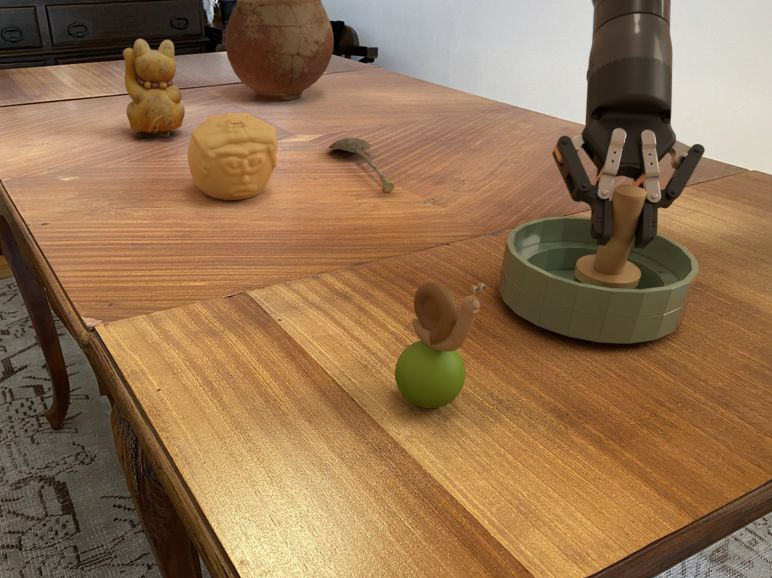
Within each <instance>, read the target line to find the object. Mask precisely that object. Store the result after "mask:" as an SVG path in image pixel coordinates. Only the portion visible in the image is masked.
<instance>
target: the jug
mask: <svg viewBox="0 0 772 578" xmlns="http://www.w3.org/2000/svg"><path fill="white" fill-rule="evenodd" d="M235 2H236V3H235V4H234V7H233V9H232V11H231V13H230V16H229V19H228V21H227V25H226V31H225V41H224V42H225V51H226V56H227V60H228V61H229V64H230V67H231V68H232V71H233V73H234V74H235V76H236V77H237V78H238V79H239V80H240V82H241V83H242V84H243V85H245V86H246V87H248V88H249V89H250V90H251V91H254V92H255V96H256V97H257V98H258V99H260V100H263V101H272V102H273V101H275V102H277V101H278V102H285V101H286V102H287V101H293V100H298V99H300V98H301V97H302V96H303V92H304V91H306V90H307V89H309V88H310V87H312V86H313V85H314V84H316V83H317V82H318V80H319V79H321V77H322V76H323V75H324V73H325V72H326V70H327V68H328V66H329V65H330V61H331V59H332V58H333V57H332V56H333V52H334V46H335V42H334V33H333V28H332V24H331V21H330V18H329V15H328V13H327V11H326V9H325V7H324V5H323V3H322V0H236V1H235Z"/></svg>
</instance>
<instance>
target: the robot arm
mask: <svg viewBox="0 0 772 578" xmlns="http://www.w3.org/2000/svg"><path fill="white" fill-rule="evenodd" d="M590 1H591V4H592V7H593V14H592V15H593V16H592V35H591V38H592V39H591V47H590V50H589V56H588V63H587V64H588V65H587V71H586V83H587V85H586V101H585V103H586V105H585V124H584V125H585V126H584V128H583V129H582V132H581V133H580V134H578V135H576V136H572V137H570V136H568V135H562V136H560V137H559V138H558V139H557V142H556V145H555V146H554V148H553V150H552V157H553V159H554V162H555V164H556V166H557V169H558V171H559V173H560V175H561V177H562V180H563V182H564V184H565V186H566V189H567V191H568V193H569V195H570V198H571V199H572V201H574V202H575V203H580V202H583V203H585V204H586V205H588V206H589V207H590V217H591V228H590V234H591V237H592V239H597V240H596V244H597V245H601V246H605V245H606V244H607V243H608V242H609V241H610V238H611V230H612V204H613V201H611V200H610V197H612V193H613V189H614V188H613V187H614V183H615V178H618V177H625V178H629V179H630V180H631V185H633V186H637V187H640V188H642V189H644V190H646V192H647V195H646V198H645V201H644V205H643V208H642V211H641V215H640V218H639V221H638V225H637V228H636V231H635V242H634V247H635V248H638V249H644V248H645V247H646V246H647V245H648V244H649V243H650V242H651V241H652V240H653V239H654V238H655V236H656V234H657V233H658V224H659V223H658V221H659V217H658V216H659V209H668V208H670V207H671V206H672V205H673V203H674V202H675V201H676V200H678V198H680V196H681V195H682V193H683V192H684V190H685V188H686V186H687V184H688V182H689V181H690V179H691V177H692V175H693V173H694V171H695V169H696V168H697V166H698V164H699V163H700V161H701V159H702V158H703V156H704V154H705V151H706V150H705V147H704V146H703V145H702V144H701V143H694V144H693V145H692V146H690V145H688V144H685V143H684V142H681V141H679V140H677V135H676V133H675V131H674V129H673V127H672V124H671V123H672V107H673V105H672V104H673V103H672V101H673V55H674V54H673V53H674V52H673V41H672V38H671V37H672V36H671V8H672V7H671V6H672V1H671V0H590ZM582 150H583V151H584V153H585V155H587V157H588V158H589V160H590V161H591V162H592V164H593V165H594V166H595V168H596V170H595V171H596V172H595V175H594V180H593V184H592V183H591V180H590V178H589V176H588V174H587V171H586V169H585V167H584V165H583V163H582V160H581V158H580V157H581V155H582V153H583V151H582ZM667 154H669V155H670V156H671V160H670V165H671V168H672V170H673V169H674V171H673V173H672V175H671V176H670V178H669V180H668V181H667V184H666V185H665V187H664V189H661V188H660V183H659V178H660V166H659V163H660V162H661V161H662V159H664V157H666V155H667Z"/></svg>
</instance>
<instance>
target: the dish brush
mask: <svg viewBox="0 0 772 578" xmlns="http://www.w3.org/2000/svg"><path fill="white" fill-rule="evenodd" d="M646 195H647V192H646V190H644V189H642V188H640V187H637V186H633V185H632V184H618V185H616V186H614V188H613V190H612V194H611V199H610V201H613V204H612V230H611V238H610V241H609V242H608V243H607V244H606V245H605V246H601V245H599V247H598V250H597V254H593V255H586V256H583V257H581V258H580V259H578V260H577V262H576V266H575V270H574V274H575V279H574V281H575V282H579V283H583V284H589V285H595V286H601V287H607V288H620V289H634V288H636V287H637V285H638V283H639V280H640V277H641V271H640V269H639V268H638V267H637V266H636V265H634V264H633V263H631V262H629V261H627V258H628V255H629V251H630V248H631V245H632V241H633V238H634V235H635V231H636V228H637V225H638V221H639V218H640V215H641V211H642V208H643V205H644V201H645V198H646Z"/></svg>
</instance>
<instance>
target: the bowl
mask: <svg viewBox="0 0 772 578" xmlns="http://www.w3.org/2000/svg"><path fill="white" fill-rule="evenodd" d="M590 228H591V216H567V215H565V216H563V215H562V216H551V217H540V218H537V219H536V218H535V219H533V220H530V221H525V222H522V223H520V224H519V225H517V226H516V227H514V228H513V229H511V230H510V231H509V233H508V235H507V238H506V241H505V246H504V251H503V258H502V262H501V263H502V264H501V268H500V275H499V280H498V286H497V289H498V292H499V295H500V297H501V300H502V302H503V303H504V304H505V305H506V306H508V307H509V308H510V309H511V311H512V312H513V313H514V314H516V315H517V316H519V317H521V318H522V319H524V320H526V321H528V322H530V323H532V324H533V325H535V326H537V327H539V328H542V329H545V330H547V331H551V332H553V333H555V334H559V335H562V336H565V337H569V338H573V339H578V340H585V341H589V342H595V343H603V344H629V345H630V344H637V343H645V342H650V341H655V340H658V339H660V338H663V337H665V336H668V335H670V334H672V333H675V331H676V330H677V329H678V327H679V326H680V324H681V323H682V322H683V321H684V317H685V314H686V311H687V308H688V305H689V302H690V300H691V297H692V294H693V290H694V287H695V285H696V281H697V280H698V279H697V278H698V275H699V273H700V269H699V263H698V258H697V257H696V256H695V255H694V254H692V252H691V251H689V249H688V248H687V247H686V246H684V245H682V244H681V243H679V242H677V241H675V240H674V239H672V238H670V237H668V236H666V235H664V234H661V233H659V232H657V234H656V236H655V238H654V239H653V240H652V241H651V242H650V243H649V244H648V245H647V246H646V247H645V248H644V249H638V248H635V247H634V242H635V235H634V238H633V241H632V245H631V248H630V251H629V255H628V258H627V261H629V262H631V263H633V264H634V265H636V266H637V267H638V268H639V269H640V271H641V277H640V280H639V283H638V285H637V287H636V288H634V289H620V288H607V287H601V286H595V285H589V284H583V283H579V282H575V281H574V279H575V274H574V270H575V266H576V262H577V260H578V259H580V258H581V257H583V256H586V255H593V254H597V250H598V247H599V245H597V244H596V240H597V239H592V237H591V234H590Z"/></svg>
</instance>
